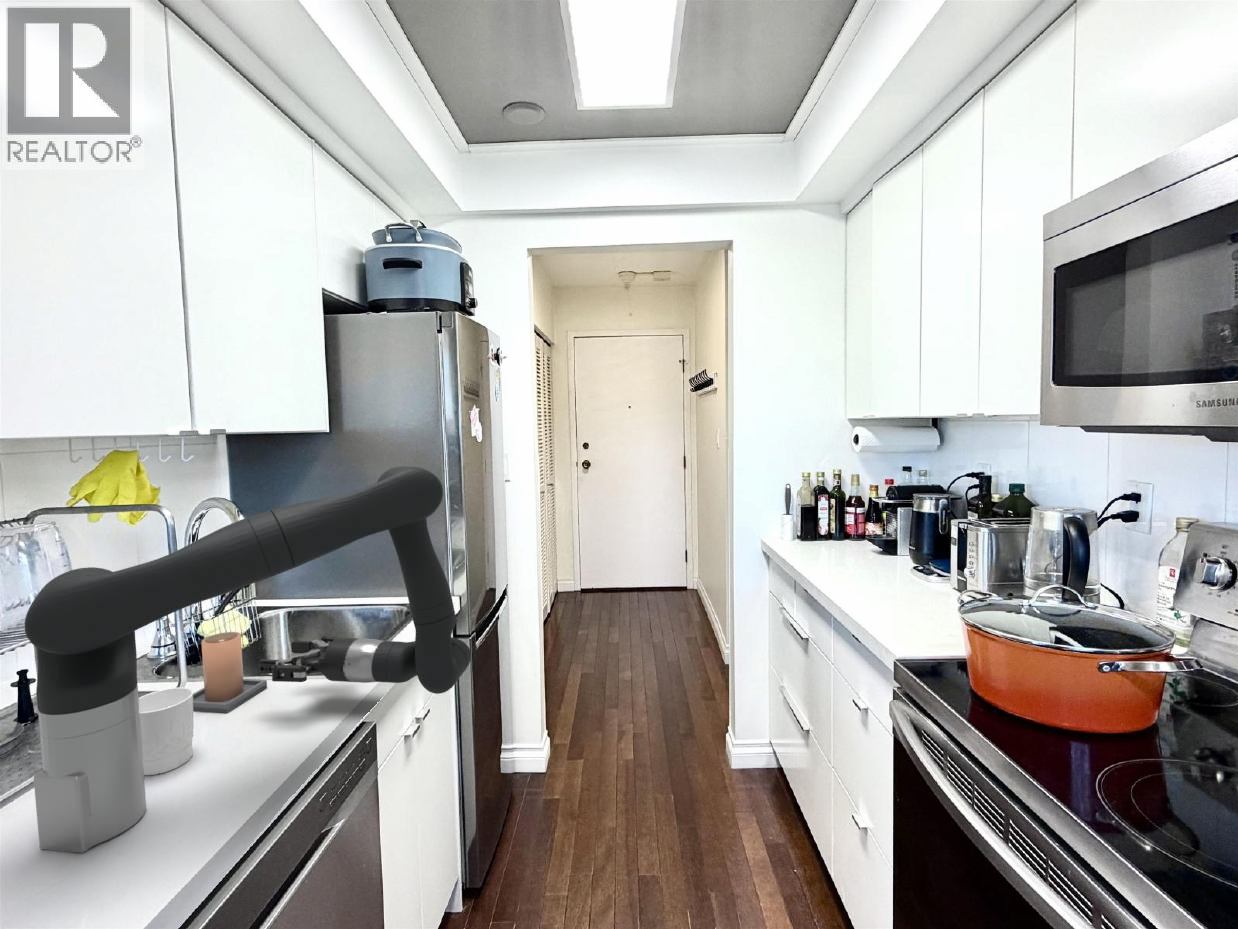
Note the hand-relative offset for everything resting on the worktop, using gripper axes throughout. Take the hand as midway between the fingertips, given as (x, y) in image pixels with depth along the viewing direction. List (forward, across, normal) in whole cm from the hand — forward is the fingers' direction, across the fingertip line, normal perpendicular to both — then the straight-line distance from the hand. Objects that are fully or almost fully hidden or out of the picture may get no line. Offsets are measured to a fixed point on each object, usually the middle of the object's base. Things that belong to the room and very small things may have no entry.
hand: (276, 656), depth 103 cm
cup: (+11, 0, +8) cm, 14 cm away
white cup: (+4, +19, +9) cm, 21 cm away
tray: (+11, 0, +9) cm, 14 cm away
